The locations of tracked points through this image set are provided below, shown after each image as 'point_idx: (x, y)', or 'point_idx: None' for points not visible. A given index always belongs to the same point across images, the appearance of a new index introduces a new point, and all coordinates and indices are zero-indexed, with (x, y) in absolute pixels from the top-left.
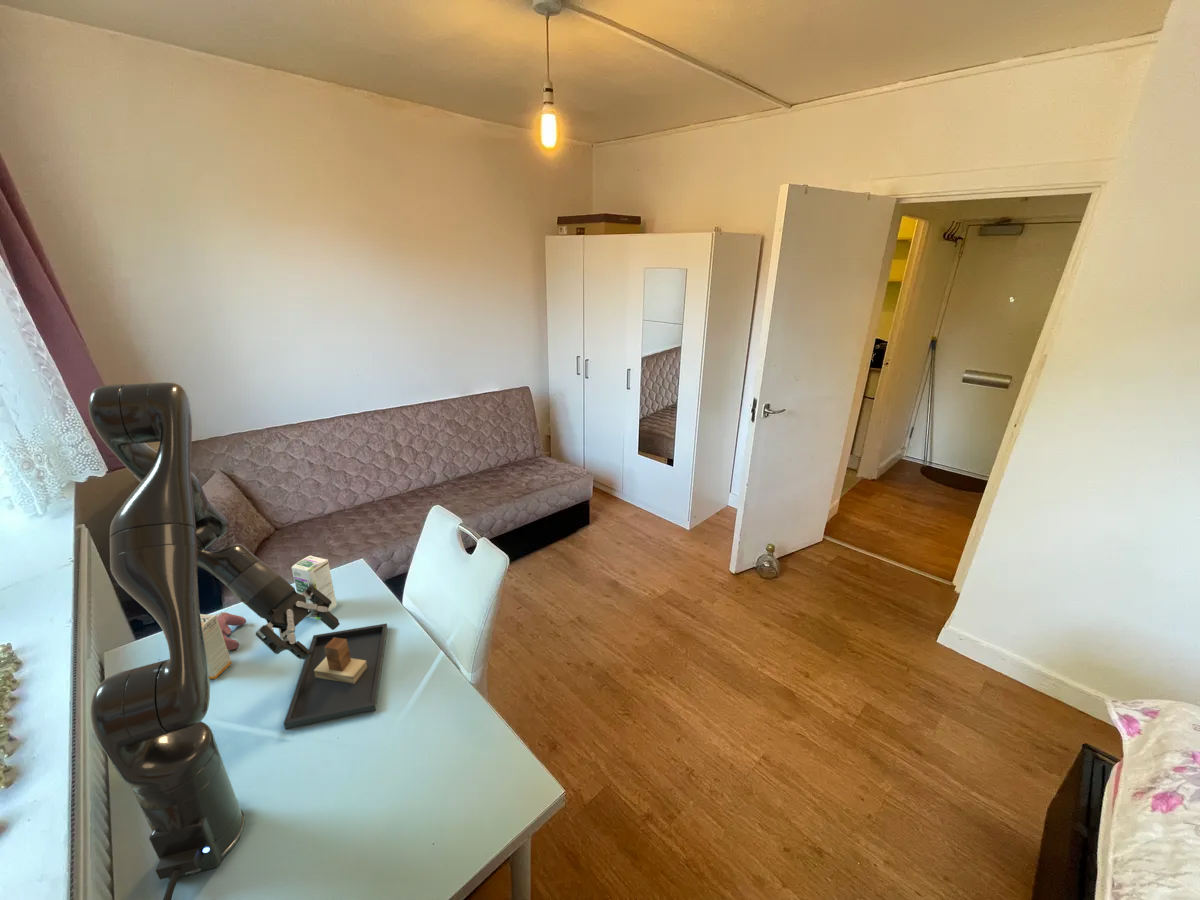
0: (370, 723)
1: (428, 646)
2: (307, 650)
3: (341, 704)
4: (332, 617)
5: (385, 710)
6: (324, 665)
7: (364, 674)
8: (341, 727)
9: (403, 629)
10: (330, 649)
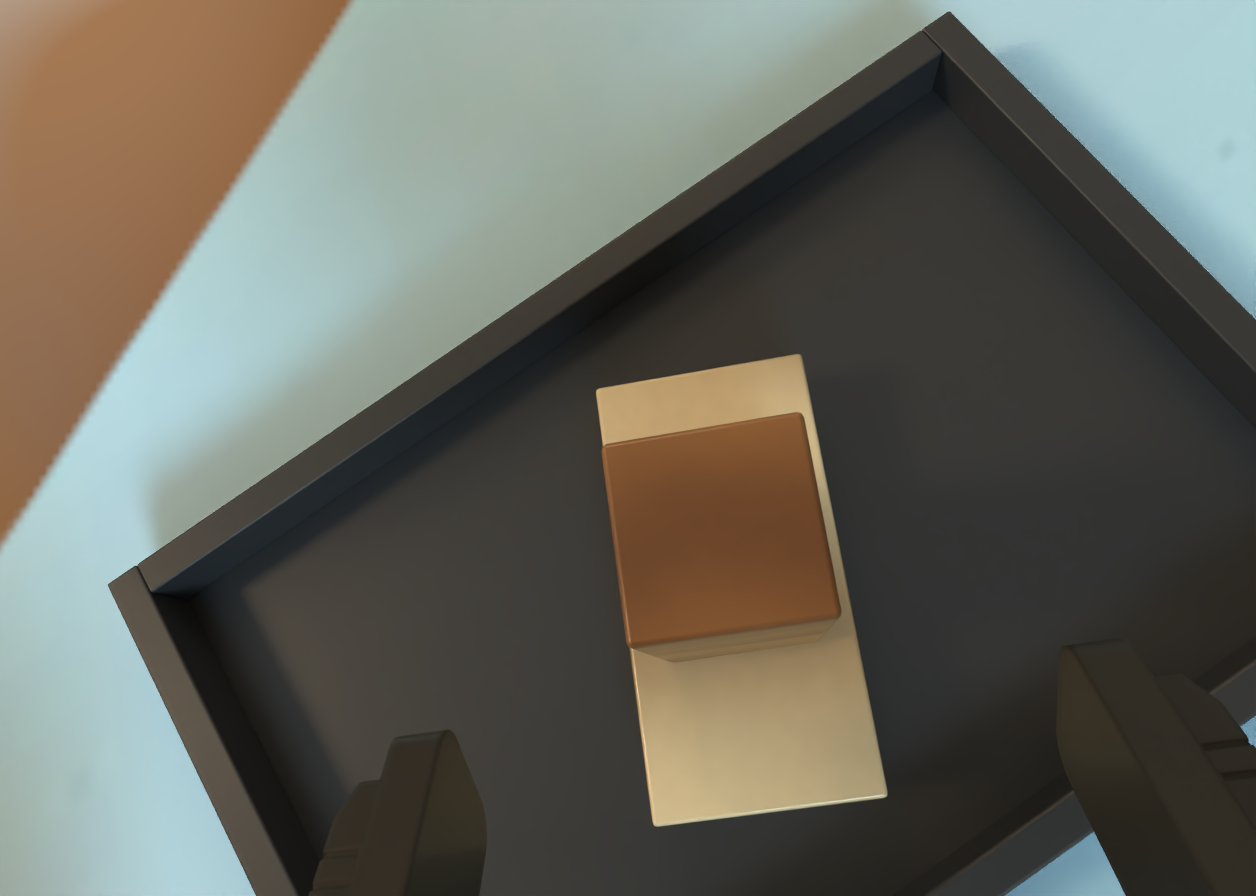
0: (1022, 40)
1: (260, 155)
2: (1121, 680)
3: (1007, 324)
4: (363, 863)
5: (887, 27)
6: (794, 735)
7: None
8: (1148, 194)
9: (128, 469)
10: (820, 523)
